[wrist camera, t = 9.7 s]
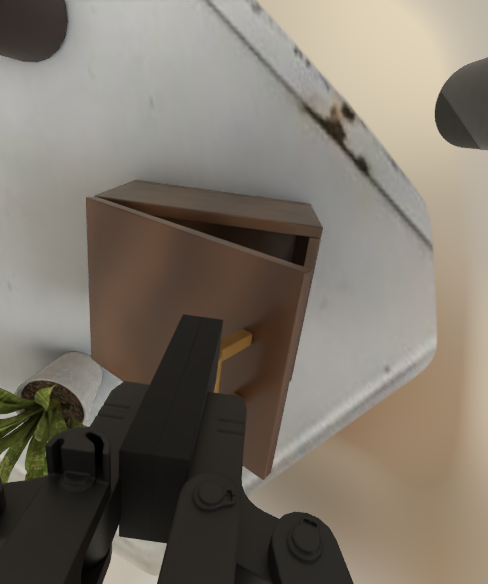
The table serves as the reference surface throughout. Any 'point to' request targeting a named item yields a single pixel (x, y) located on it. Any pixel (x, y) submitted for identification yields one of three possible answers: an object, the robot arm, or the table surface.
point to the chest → (231, 219)
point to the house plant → (46, 410)
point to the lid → (195, 310)
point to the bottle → (32, 28)
